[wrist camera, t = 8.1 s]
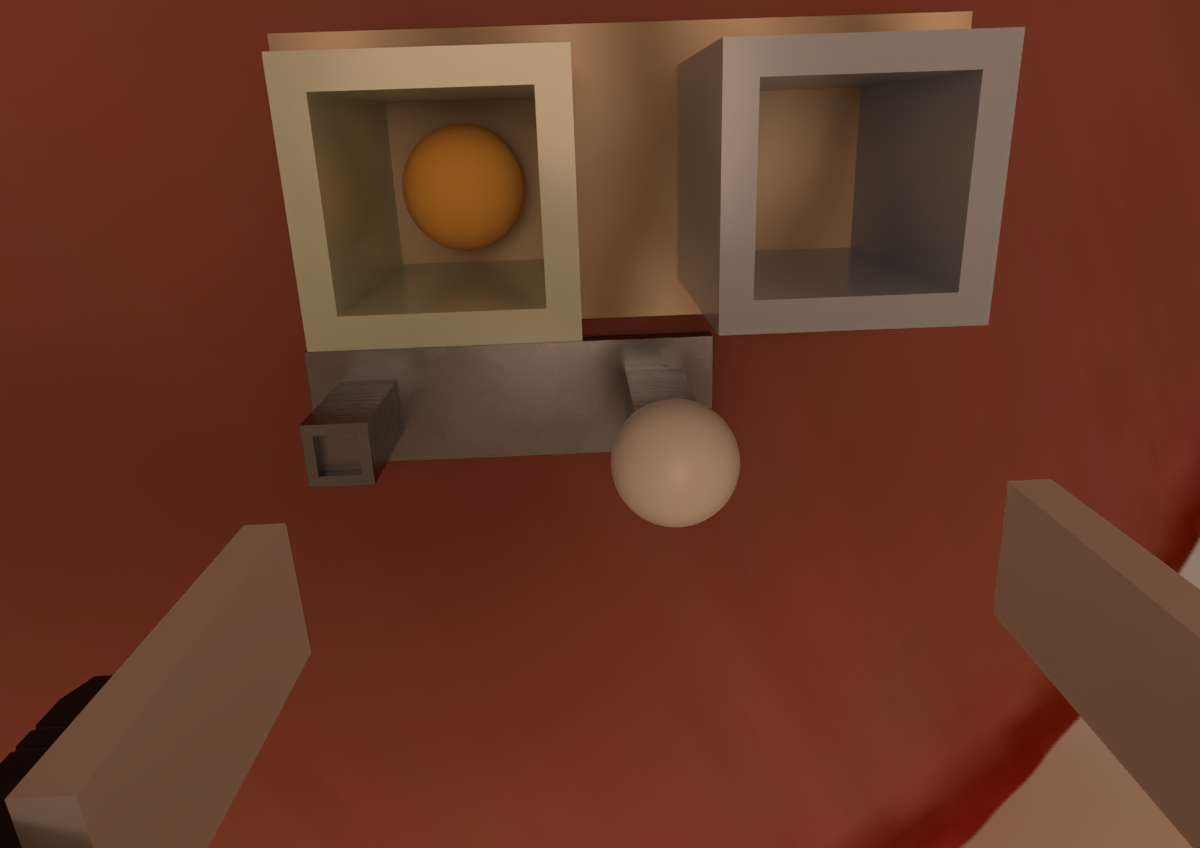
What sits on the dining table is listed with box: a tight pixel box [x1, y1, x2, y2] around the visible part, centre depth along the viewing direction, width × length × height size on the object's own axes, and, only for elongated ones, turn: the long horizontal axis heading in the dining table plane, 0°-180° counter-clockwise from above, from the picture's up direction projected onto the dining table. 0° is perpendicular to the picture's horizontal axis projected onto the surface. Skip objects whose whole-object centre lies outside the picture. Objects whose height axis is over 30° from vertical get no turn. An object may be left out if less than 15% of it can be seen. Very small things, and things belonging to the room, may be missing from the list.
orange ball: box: [402, 124, 525, 250], centre depth 30 cm, size 4×4×4 cm
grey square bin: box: [677, 27, 1025, 336], centre depth 28 cm, size 8×8×10 cm
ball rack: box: [299, 332, 713, 487], centre depth 33 cm, size 17×5×6 cm, turn 92°
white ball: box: [611, 398, 740, 527], centre depth 29 cm, size 4×4×4 cm
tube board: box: [267, 11, 973, 319], centre depth 33 cm, size 26×11×1 cm, turn 92°
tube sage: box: [262, 42, 583, 352], centre depth 28 cm, size 8×8×10 cm
